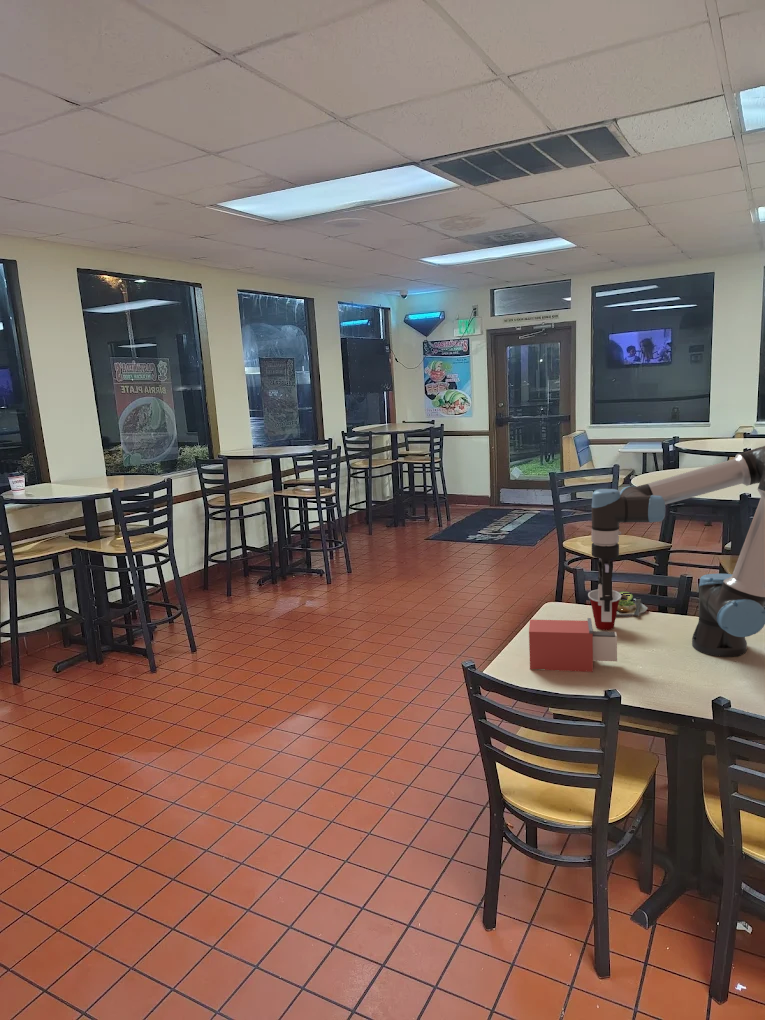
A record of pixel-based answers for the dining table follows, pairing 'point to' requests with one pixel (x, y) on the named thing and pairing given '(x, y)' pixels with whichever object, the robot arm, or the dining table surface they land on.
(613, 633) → the white rectangular block
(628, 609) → the salad plate
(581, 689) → the dining table surface
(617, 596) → the plastic cup
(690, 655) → the dining table surface
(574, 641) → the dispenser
